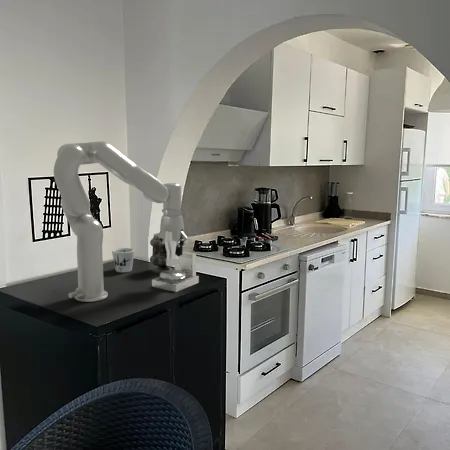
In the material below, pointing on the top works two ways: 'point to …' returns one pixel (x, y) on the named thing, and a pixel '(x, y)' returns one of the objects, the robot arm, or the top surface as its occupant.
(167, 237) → the beer glass
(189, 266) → the scale
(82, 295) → the robot arm
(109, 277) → the top surface
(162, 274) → the scale pan
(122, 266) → the mug
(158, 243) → the apothecary jar
